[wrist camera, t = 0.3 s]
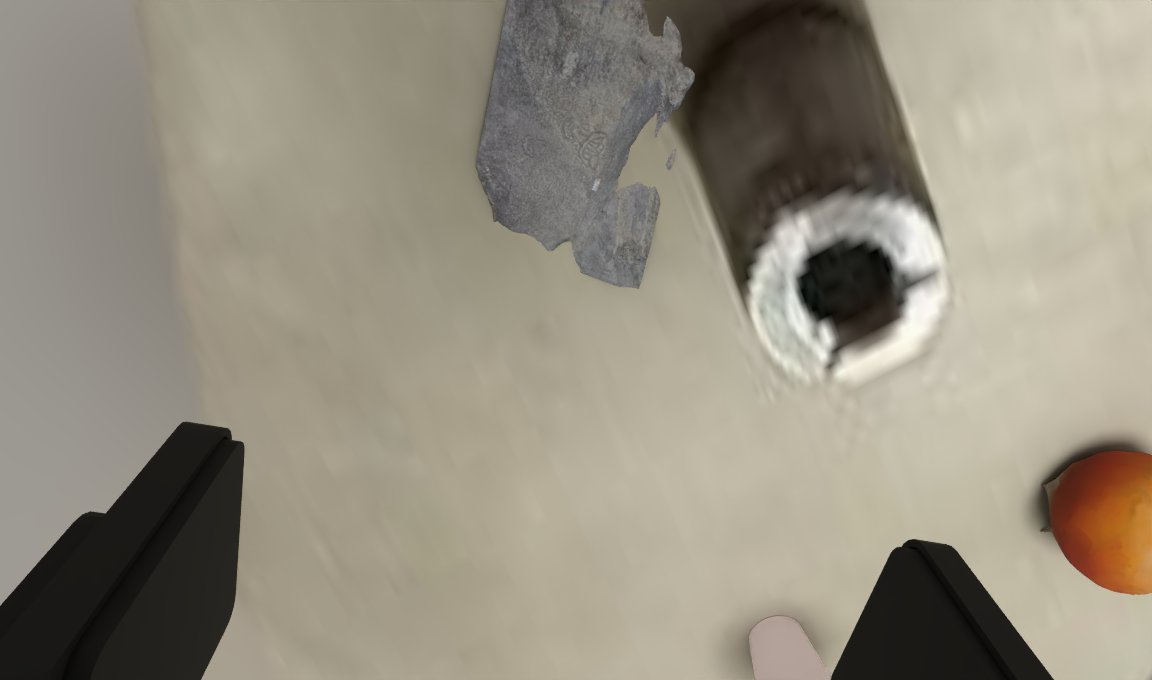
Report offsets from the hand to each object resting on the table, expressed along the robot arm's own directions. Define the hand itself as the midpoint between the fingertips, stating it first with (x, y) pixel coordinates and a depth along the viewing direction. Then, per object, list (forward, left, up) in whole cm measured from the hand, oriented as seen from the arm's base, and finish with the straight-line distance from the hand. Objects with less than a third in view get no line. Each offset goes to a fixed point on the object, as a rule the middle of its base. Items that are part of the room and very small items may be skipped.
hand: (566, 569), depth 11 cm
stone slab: (-4, +1, -31) cm, 31 cm away
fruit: (+8, +39, -31) cm, 50 cm away
